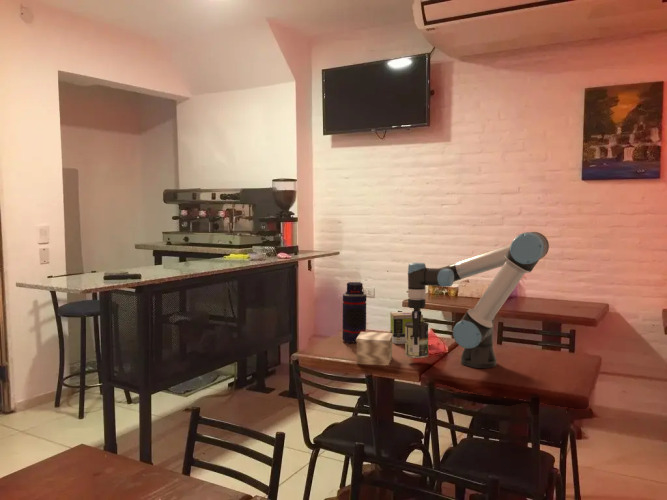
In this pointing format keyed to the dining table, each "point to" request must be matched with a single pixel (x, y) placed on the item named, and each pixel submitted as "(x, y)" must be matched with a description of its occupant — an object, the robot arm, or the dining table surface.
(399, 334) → the tea box
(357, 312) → the red-striped thermos flask
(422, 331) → the coffee can
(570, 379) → the dining table surface
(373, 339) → the birch box
